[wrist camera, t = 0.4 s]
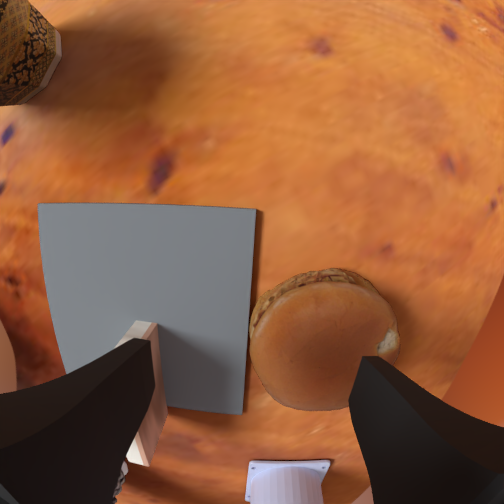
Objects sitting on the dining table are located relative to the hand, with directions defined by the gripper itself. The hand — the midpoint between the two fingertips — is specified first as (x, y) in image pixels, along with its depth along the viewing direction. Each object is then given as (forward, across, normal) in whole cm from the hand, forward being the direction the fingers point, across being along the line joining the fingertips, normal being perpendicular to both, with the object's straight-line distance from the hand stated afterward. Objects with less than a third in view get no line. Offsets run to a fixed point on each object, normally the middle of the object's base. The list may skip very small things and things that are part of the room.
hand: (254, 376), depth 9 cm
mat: (+10, +8, +4) cm, 13 cm away
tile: (+9, +7, +8) cm, 14 cm away
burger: (+10, -5, +3) cm, 12 cm away
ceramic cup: (+10, +21, -15) cm, 27 cm away
